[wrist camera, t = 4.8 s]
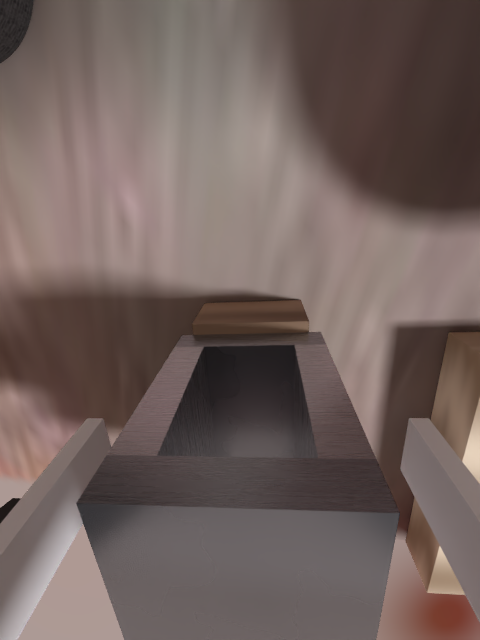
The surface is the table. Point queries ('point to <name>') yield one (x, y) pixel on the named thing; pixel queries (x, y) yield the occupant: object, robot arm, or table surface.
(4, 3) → the coffee cup
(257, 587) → the housing
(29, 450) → the table surface
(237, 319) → the stand
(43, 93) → the table surface
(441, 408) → the plate
